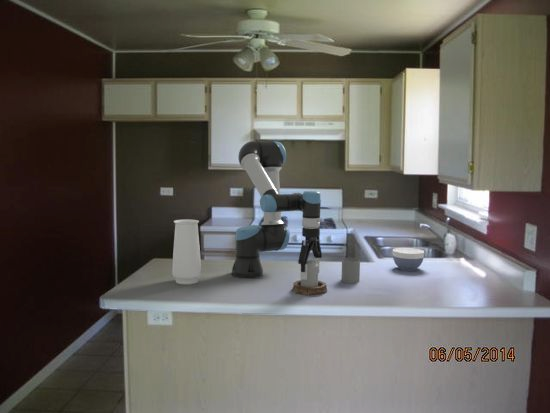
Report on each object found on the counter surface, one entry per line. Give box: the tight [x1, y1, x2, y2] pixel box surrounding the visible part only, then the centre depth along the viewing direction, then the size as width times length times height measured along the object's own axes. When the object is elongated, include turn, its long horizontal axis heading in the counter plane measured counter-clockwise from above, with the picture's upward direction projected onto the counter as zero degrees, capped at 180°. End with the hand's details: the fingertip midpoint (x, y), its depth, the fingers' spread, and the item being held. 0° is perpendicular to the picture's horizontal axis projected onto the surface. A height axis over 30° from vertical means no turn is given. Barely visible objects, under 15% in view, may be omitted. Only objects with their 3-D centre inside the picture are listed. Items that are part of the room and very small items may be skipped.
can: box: [300, 259, 319, 287], centre depth 228 cm, size 8×8×12 cm
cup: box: [341, 257, 361, 284], centre depth 246 cm, size 8×8×10 cm
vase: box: [172, 218, 202, 285], centre depth 239 cm, size 13×13×28 cm
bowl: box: [392, 247, 425, 272], centre depth 272 cm, size 16×16×10 cm
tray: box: [292, 279, 328, 297], centre depth 229 cm, size 15×15×3 cm
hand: (310, 275), depth 228 cm, fingers open, 13 cm apart
